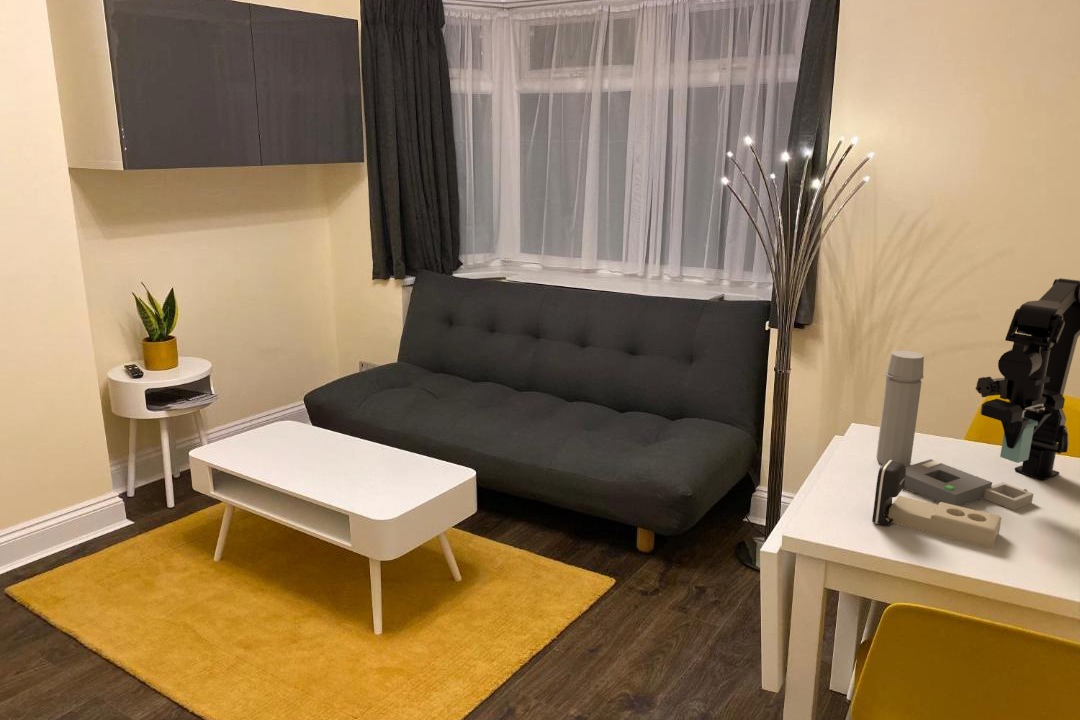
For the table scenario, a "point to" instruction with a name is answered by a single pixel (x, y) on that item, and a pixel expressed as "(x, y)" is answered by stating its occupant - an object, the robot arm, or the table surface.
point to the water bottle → (900, 406)
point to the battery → (887, 490)
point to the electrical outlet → (947, 520)
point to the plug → (1020, 445)
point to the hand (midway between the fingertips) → (1016, 446)
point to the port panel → (944, 483)
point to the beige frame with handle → (1013, 503)
